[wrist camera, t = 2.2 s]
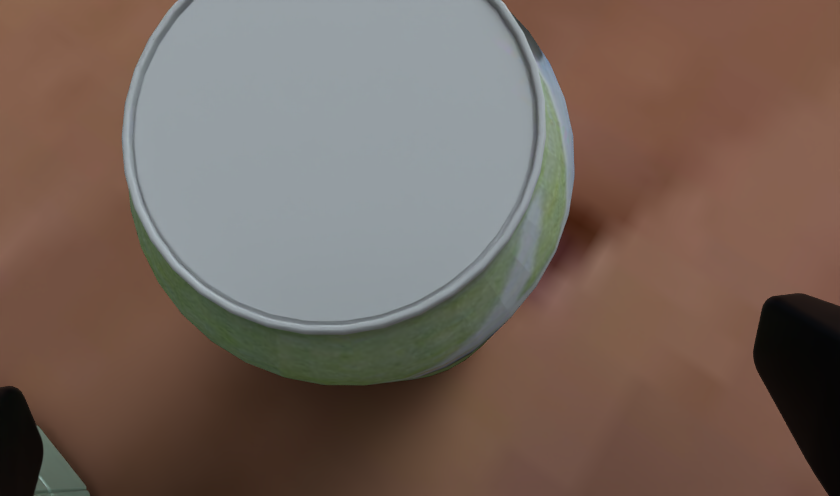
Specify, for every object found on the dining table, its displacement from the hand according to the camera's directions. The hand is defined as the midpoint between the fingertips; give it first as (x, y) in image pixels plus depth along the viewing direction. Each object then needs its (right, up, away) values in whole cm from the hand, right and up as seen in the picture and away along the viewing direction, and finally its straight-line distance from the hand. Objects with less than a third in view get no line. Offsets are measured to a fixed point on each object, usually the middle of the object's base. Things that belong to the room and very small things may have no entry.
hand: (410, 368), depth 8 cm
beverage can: (-1, 0, +11) cm, 11 cm away
